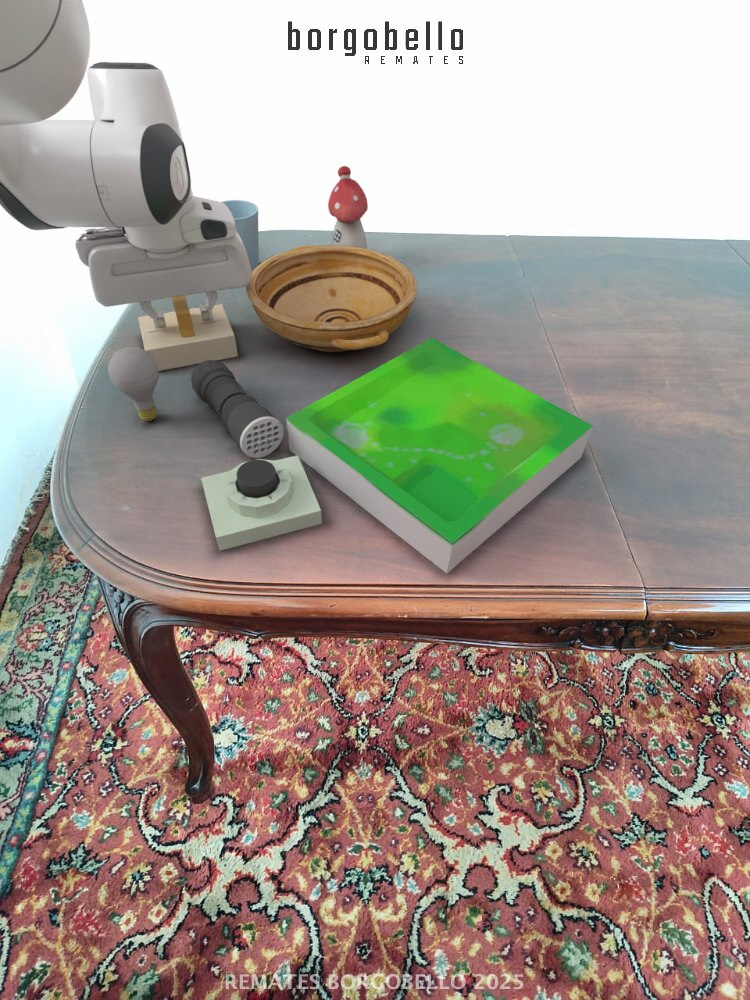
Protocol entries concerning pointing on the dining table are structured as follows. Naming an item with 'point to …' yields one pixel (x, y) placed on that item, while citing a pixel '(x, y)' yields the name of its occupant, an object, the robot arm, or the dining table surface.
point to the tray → (438, 448)
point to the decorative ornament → (348, 211)
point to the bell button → (257, 478)
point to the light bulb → (136, 378)
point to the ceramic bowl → (332, 296)
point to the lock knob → (183, 316)
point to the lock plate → (189, 339)
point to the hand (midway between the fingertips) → (184, 322)
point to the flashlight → (237, 409)
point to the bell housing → (261, 505)
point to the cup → (246, 227)
